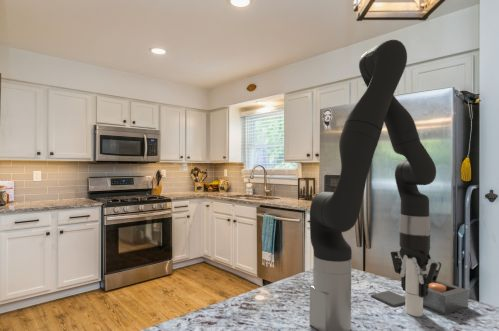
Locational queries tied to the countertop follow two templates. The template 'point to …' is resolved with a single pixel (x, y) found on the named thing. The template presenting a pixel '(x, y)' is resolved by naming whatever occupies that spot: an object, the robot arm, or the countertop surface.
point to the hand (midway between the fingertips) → (414, 293)
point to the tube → (412, 291)
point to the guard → (446, 299)
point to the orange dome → (437, 287)
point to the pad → (389, 298)
